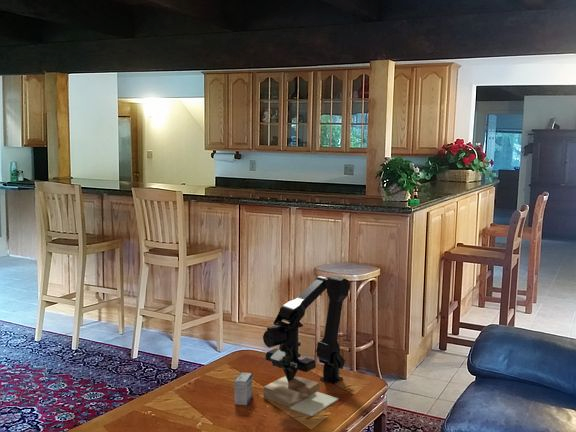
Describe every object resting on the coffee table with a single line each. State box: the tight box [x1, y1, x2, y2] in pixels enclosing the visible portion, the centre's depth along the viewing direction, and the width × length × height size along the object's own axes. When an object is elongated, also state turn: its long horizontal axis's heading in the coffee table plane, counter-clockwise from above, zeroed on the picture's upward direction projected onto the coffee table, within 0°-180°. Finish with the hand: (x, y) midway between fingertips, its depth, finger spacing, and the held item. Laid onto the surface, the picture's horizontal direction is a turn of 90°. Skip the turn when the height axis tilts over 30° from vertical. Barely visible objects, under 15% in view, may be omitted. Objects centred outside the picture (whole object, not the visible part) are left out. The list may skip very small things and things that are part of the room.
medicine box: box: [233, 372, 253, 406], centre depth 210 cm, size 8×4×9 cm, turn 168°
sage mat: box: [289, 391, 339, 417], centre depth 208 cm, size 16×9×1 cm, turn 142°
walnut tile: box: [288, 375, 320, 396], centre depth 210 cm, size 9×6×2 cm, turn 55°
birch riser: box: [263, 375, 315, 408], centre depth 214 cm, size 14×12×4 cm
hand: (290, 382), depth 214 cm, fingers closed
